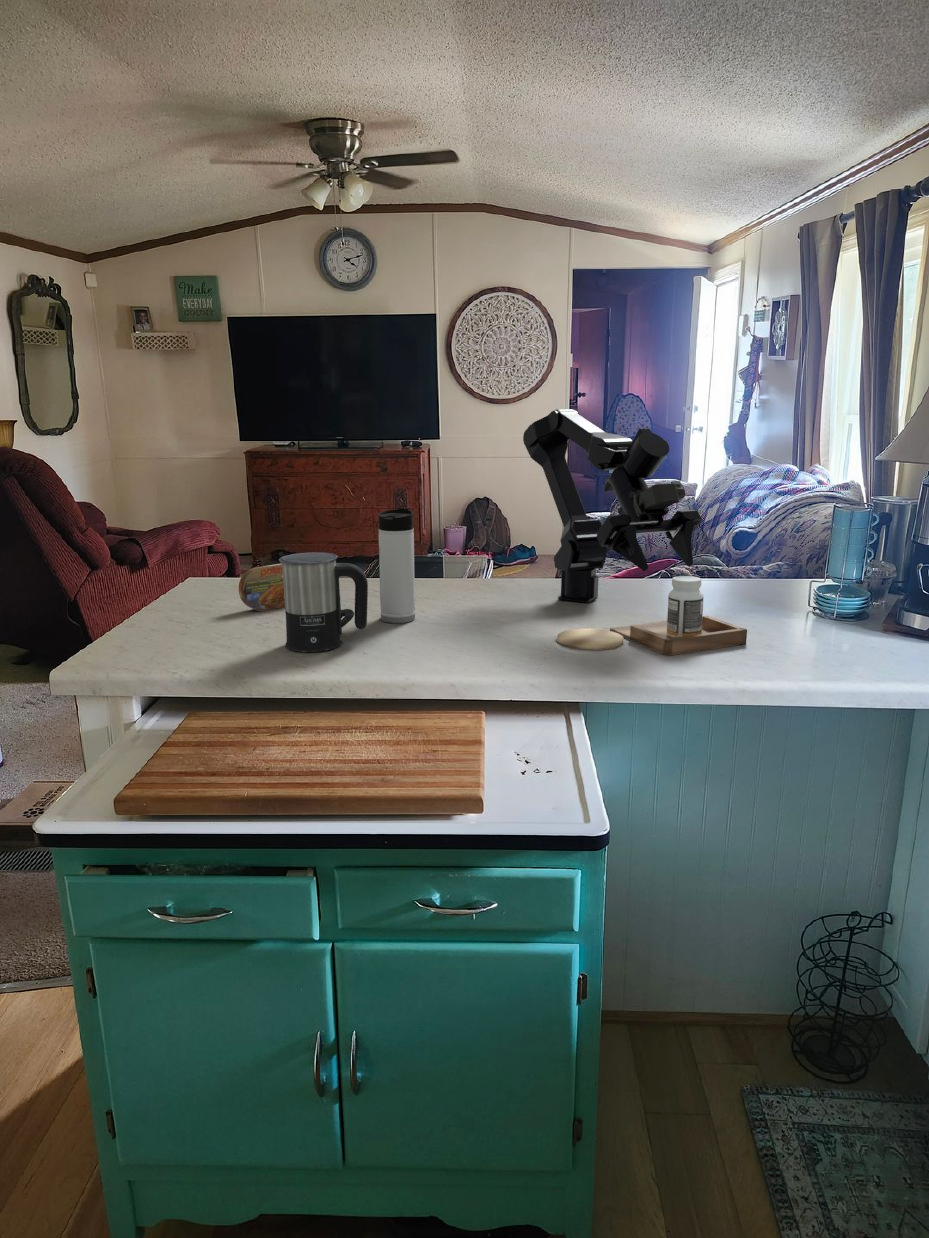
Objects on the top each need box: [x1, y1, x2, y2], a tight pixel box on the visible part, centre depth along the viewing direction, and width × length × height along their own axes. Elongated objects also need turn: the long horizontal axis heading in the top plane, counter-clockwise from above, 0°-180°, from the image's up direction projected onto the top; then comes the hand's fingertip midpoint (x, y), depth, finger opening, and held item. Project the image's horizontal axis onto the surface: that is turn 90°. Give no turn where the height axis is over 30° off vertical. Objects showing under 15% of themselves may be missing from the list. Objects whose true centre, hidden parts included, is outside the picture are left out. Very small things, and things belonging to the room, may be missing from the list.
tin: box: [238, 563, 285, 612], centre depth 169 cm, size 15×3×8 cm, turn 129°
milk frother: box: [278, 551, 369, 653], centre depth 146 cm, size 14×16×15 cm
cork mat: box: [556, 627, 624, 651], centre depth 146 cm, size 11×11×1 cm
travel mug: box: [377, 507, 416, 624], centre depth 158 cm, size 6×7×20 cm
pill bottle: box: [666, 575, 705, 638], centre depth 145 cm, size 6×6×10 cm
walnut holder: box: [609, 615, 748, 657], centre depth 148 cm, size 16×16×2 cm
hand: (668, 567), depth 148 cm, fingers open, 9 cm apart
